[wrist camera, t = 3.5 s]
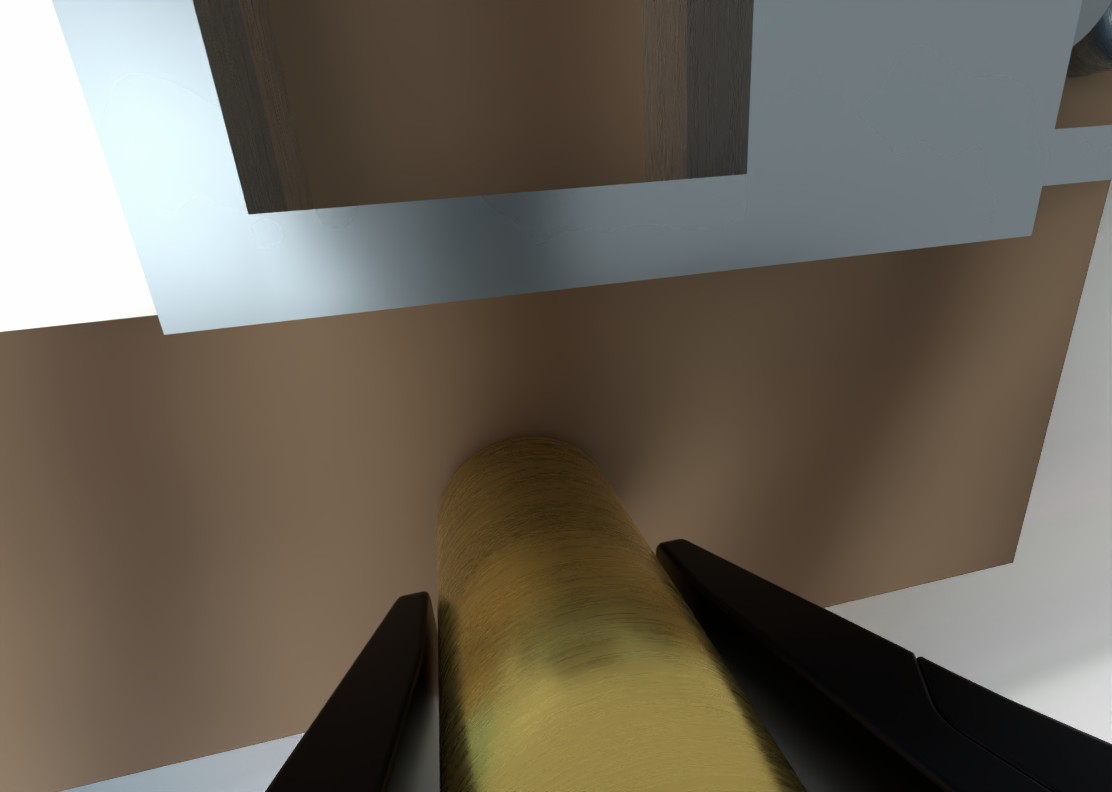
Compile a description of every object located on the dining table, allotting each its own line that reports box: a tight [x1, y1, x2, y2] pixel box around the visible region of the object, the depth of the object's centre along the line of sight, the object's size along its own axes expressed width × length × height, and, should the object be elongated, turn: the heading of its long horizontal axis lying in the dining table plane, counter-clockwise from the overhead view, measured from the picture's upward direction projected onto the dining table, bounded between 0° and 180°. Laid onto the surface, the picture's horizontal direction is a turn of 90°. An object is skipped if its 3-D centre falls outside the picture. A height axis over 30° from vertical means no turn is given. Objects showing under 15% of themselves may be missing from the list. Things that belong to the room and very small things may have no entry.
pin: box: [436, 436, 807, 792], centre depth 6 cm, size 5×5×9 cm
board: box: [0, 0, 1112, 792], centre depth 9 cm, size 24×16×2 cm, turn 95°
